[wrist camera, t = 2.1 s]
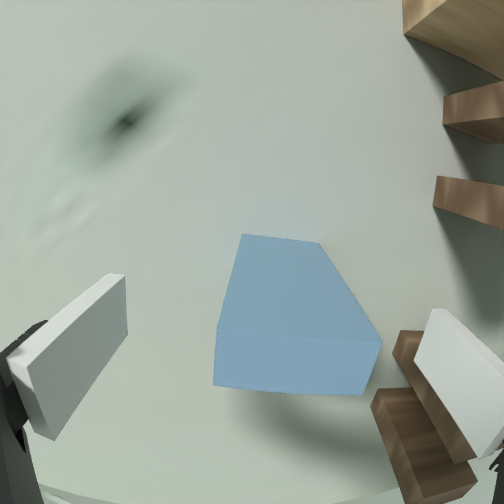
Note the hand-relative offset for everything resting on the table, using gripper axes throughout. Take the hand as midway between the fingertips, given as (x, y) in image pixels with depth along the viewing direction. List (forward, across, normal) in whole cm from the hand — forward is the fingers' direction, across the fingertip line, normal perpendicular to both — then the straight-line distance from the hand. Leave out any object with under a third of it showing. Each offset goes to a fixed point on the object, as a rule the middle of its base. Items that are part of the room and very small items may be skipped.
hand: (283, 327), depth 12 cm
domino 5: (+9, +13, -12) cm, 20 cm away
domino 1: (+9, 0, 0) cm, 9 cm away
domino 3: (+9, +13, +6) cm, 17 cm away
